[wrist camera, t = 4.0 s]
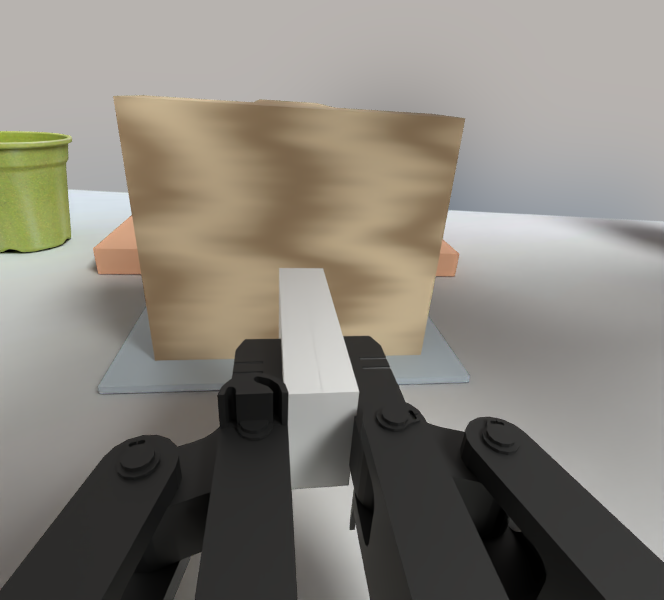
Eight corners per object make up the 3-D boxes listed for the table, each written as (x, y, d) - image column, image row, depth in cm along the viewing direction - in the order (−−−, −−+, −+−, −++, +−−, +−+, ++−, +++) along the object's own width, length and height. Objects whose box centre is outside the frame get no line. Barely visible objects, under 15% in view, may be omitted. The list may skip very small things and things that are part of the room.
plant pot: (-59, 242, 34) (-101, 131, 31) (60, 221, 41) (39, 128, 38) (-12, 271, 30) (-55, 145, 26) (113, 242, 37) (94, 139, 33)
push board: (397, 218, 50) (399, 201, 50) (556, 379, 22) (568, 348, 21) (158, 211, 46) (156, 194, 46) (-22, 397, 18) (-37, 360, 17)
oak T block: (368, 262, 35) (385, 107, 30) (420, 354, 23) (465, 118, 17) (199, 260, 33) (184, 94, 28) (155, 360, 21) (113, 96, 15)
